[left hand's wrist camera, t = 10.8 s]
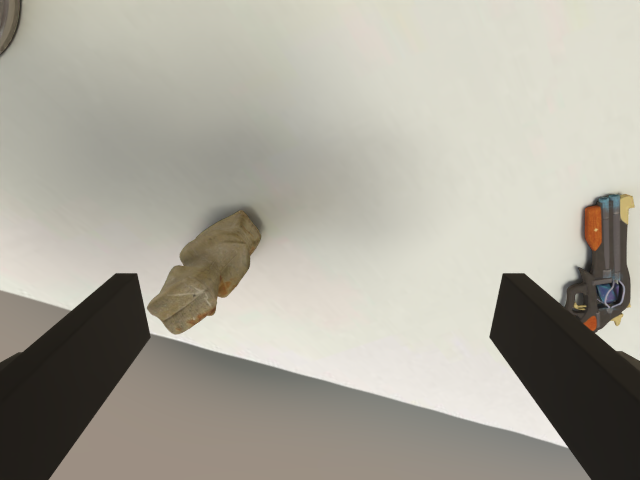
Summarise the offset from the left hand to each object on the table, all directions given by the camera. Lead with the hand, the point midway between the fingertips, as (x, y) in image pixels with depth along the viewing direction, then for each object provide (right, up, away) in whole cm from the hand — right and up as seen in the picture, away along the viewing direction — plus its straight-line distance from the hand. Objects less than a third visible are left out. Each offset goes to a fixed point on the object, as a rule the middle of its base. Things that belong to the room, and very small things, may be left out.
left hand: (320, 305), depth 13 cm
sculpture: (-10, +3, +27) cm, 29 cm away
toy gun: (+30, -2, +29) cm, 42 cm away
